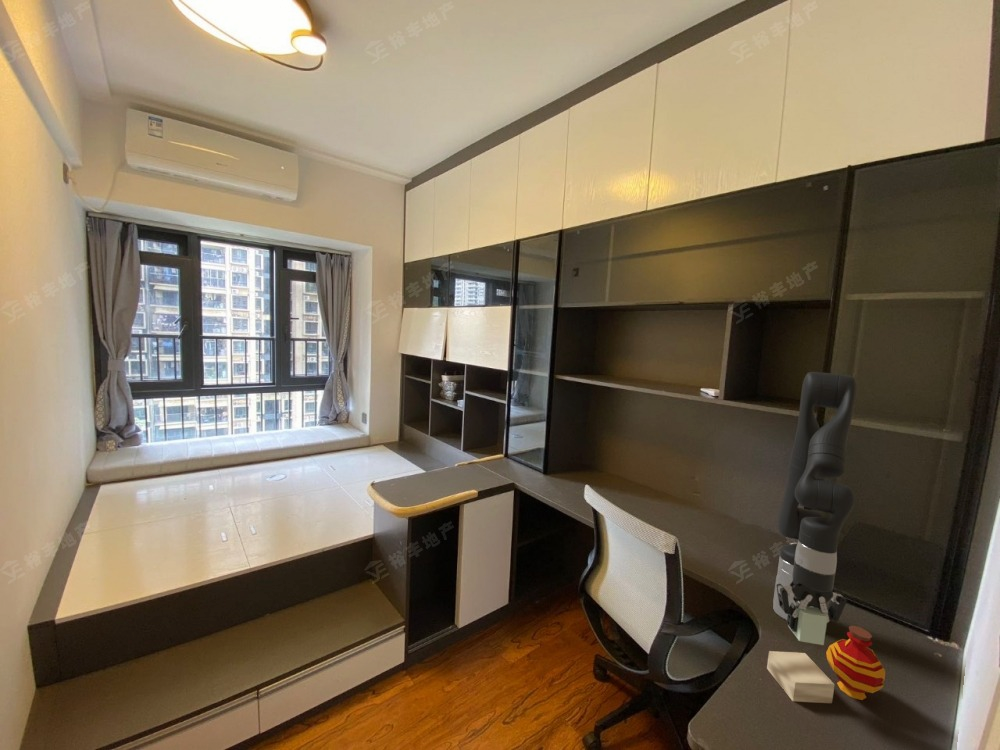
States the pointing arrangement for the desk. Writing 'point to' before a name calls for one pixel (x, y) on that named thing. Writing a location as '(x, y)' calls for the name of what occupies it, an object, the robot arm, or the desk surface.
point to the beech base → (800, 677)
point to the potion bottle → (856, 664)
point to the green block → (811, 626)
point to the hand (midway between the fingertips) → (805, 631)
